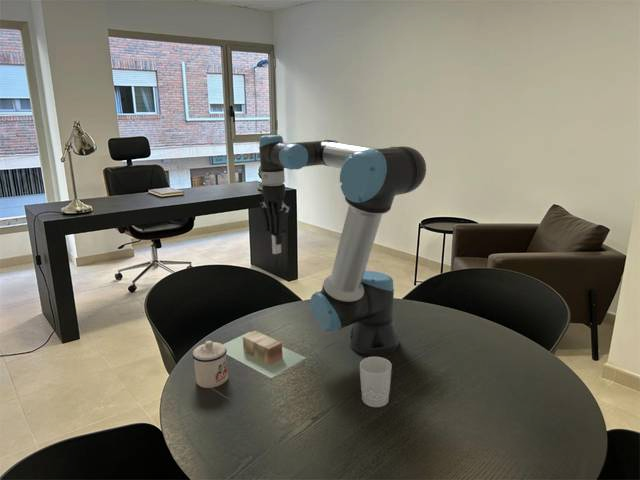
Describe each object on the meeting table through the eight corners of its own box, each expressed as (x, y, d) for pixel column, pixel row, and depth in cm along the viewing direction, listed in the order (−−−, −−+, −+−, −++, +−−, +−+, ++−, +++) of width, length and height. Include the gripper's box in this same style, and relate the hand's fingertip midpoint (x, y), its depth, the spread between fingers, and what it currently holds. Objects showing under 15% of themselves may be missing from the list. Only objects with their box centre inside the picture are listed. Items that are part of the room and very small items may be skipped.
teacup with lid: (222, 390, 123) (218, 351, 119) (190, 388, 124) (185, 349, 121) (237, 366, 134) (234, 329, 131) (207, 364, 136) (203, 328, 132)
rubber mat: (306, 358, 137) (306, 357, 137) (271, 379, 127) (271, 378, 127) (249, 332, 154) (249, 331, 154) (214, 349, 144) (214, 348, 144)
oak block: (256, 345, 145) (282, 357, 137) (243, 351, 141) (270, 364, 134) (255, 330, 144) (281, 342, 136) (242, 336, 140) (269, 349, 132)
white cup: (370, 413, 112) (371, 376, 109) (353, 395, 119) (353, 361, 116) (397, 403, 116) (398, 367, 113) (379, 387, 122) (379, 353, 120)
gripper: (251, 183, 152) (256, 252, 158) (278, 187, 143) (282, 259, 150) (268, 180, 157) (272, 246, 164) (295, 184, 149) (298, 253, 155)
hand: (277, 252), depth 157 cm, fingers closed
